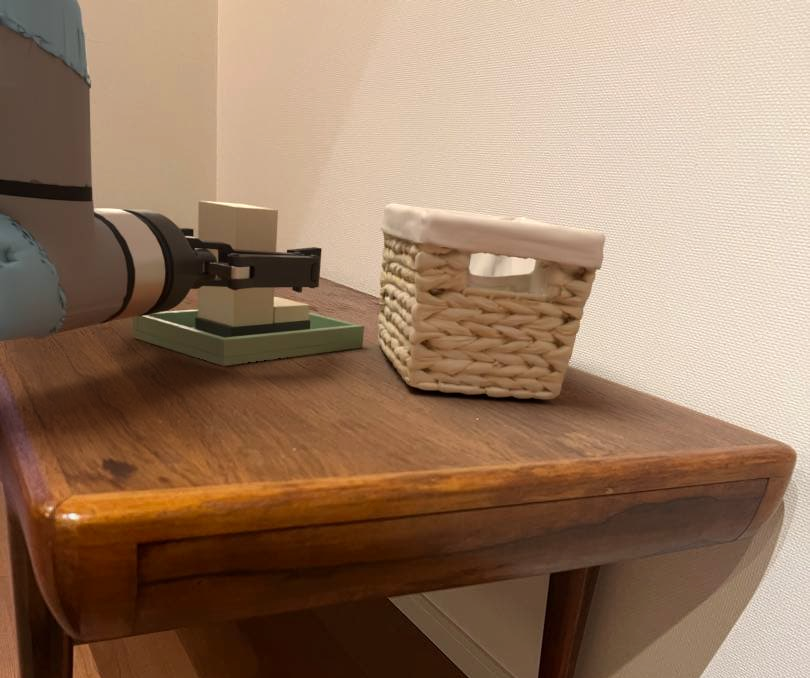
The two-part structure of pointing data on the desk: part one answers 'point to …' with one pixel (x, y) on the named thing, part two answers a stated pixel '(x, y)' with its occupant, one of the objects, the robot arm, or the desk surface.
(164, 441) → the desk surface
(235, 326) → the boot
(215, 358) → the tray
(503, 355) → the basket
